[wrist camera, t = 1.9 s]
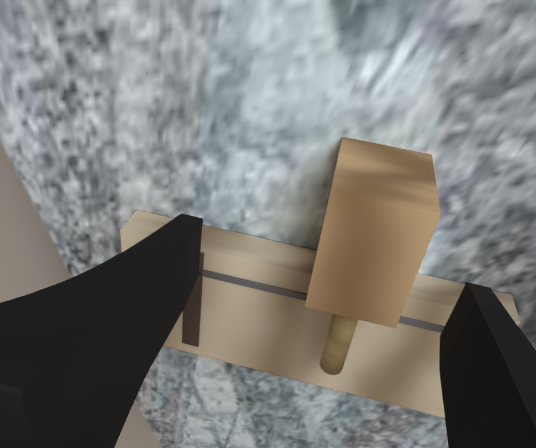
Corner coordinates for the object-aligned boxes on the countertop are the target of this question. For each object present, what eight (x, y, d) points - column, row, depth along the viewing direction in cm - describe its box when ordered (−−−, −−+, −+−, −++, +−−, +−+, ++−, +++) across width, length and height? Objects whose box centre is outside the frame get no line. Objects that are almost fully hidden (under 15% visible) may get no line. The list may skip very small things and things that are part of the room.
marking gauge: (431, 153, 22) (440, 213, 18) (371, 326, 28) (368, 399, 24) (342, 136, 22) (331, 190, 18) (303, 309, 28) (288, 379, 24)
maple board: (511, 294, 25) (520, 324, 23) (457, 392, 29) (461, 423, 28) (136, 210, 27) (119, 231, 25) (140, 313, 31) (126, 338, 30)
